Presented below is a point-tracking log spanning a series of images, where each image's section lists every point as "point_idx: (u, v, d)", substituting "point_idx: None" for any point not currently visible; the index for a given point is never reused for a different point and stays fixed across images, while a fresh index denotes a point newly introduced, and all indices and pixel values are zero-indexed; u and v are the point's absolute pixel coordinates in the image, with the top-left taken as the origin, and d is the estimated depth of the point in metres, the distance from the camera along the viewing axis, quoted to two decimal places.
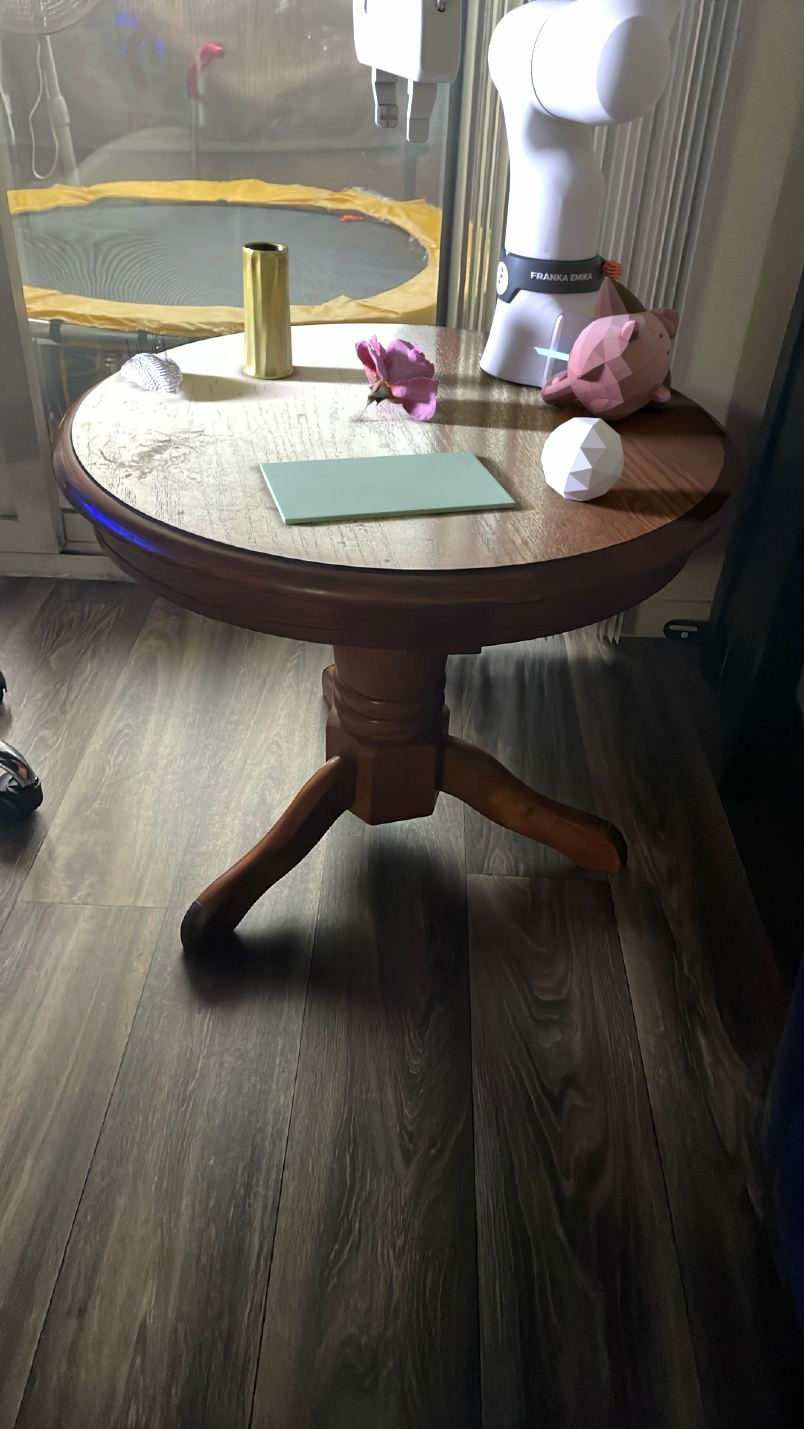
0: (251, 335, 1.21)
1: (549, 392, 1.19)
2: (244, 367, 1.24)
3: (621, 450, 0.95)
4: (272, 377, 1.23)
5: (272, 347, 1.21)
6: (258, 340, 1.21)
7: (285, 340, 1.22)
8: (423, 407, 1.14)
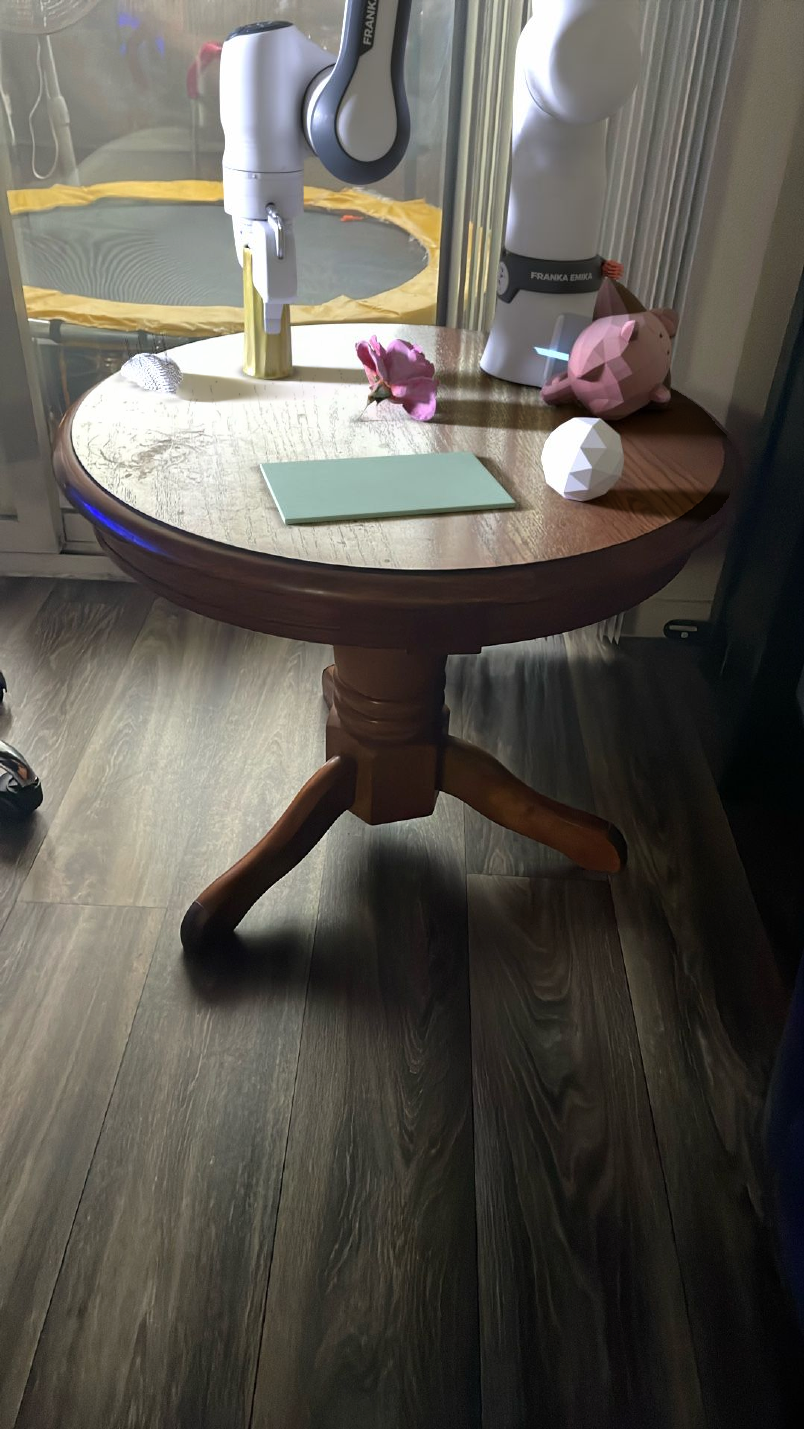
0: (251, 335, 1.21)
1: (549, 392, 1.19)
2: (244, 367, 1.24)
3: (621, 450, 0.95)
4: (272, 377, 1.23)
5: (272, 347, 1.21)
6: (257, 340, 1.21)
7: (285, 340, 1.22)
8: (423, 407, 1.14)
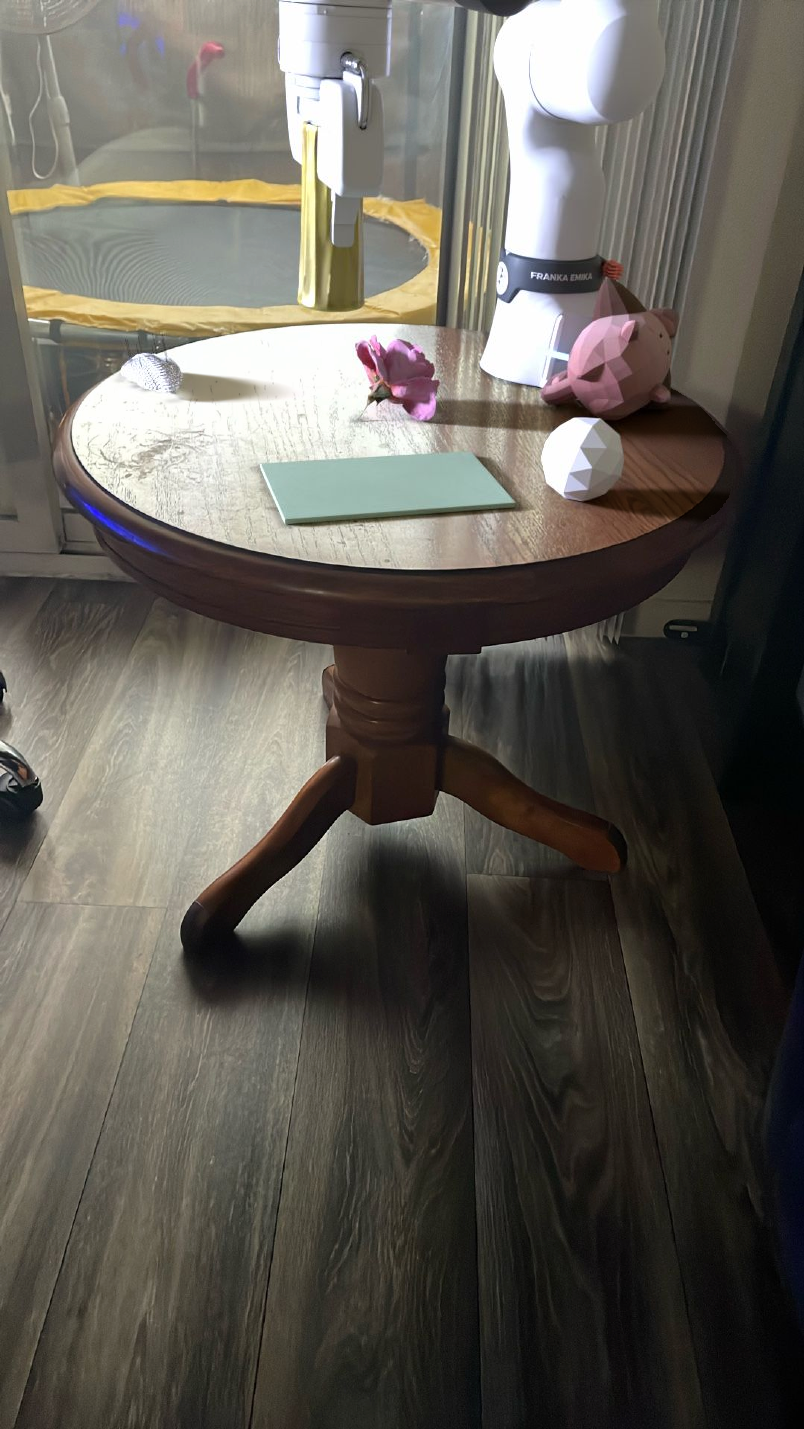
0: (311, 250, 0.88)
1: (549, 392, 1.19)
2: (299, 297, 0.92)
3: (621, 450, 0.95)
4: (338, 309, 0.91)
5: (339, 267, 0.89)
6: (320, 257, 0.88)
7: (356, 258, 0.89)
8: (423, 407, 1.14)
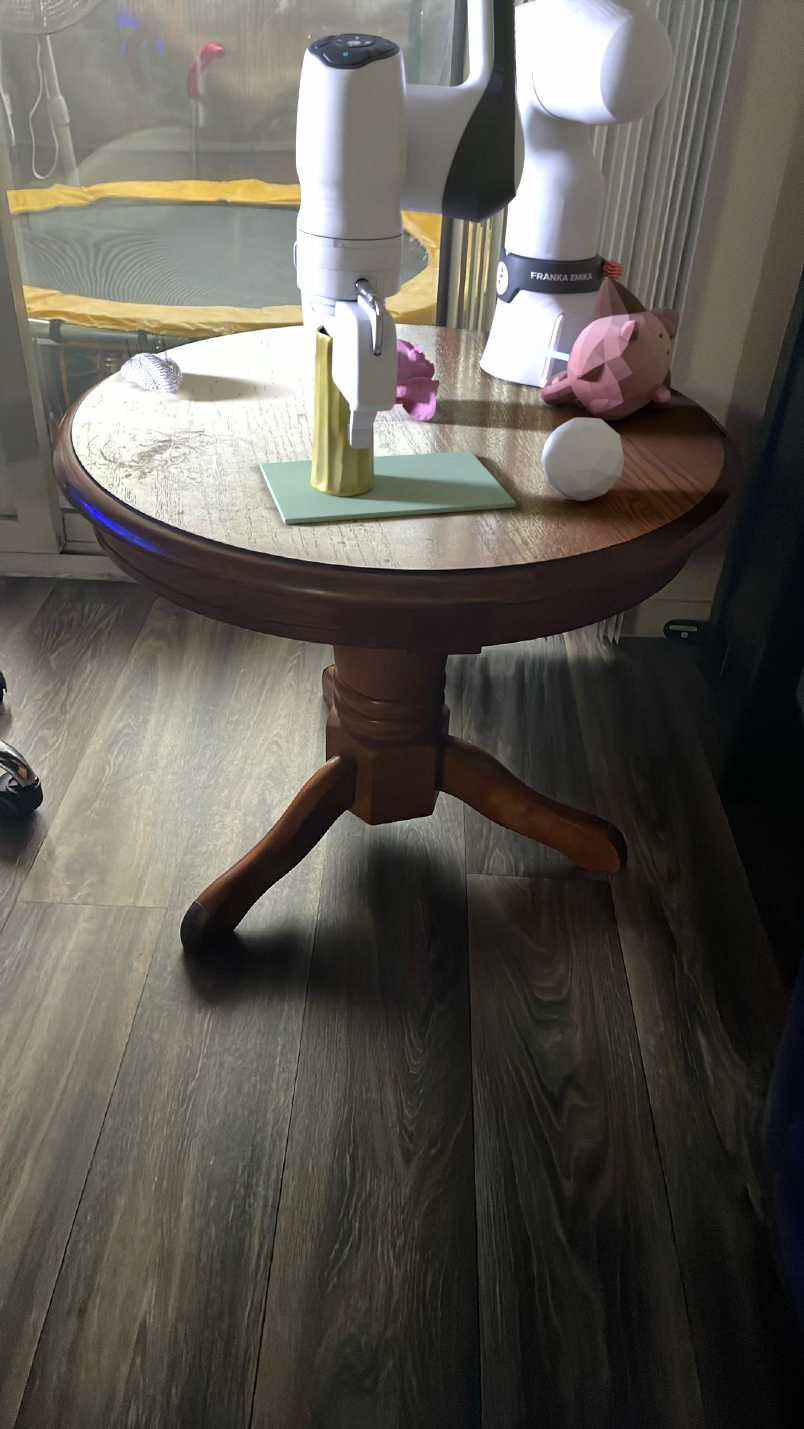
0: (323, 442, 0.93)
1: (549, 392, 1.19)
2: (312, 479, 0.97)
3: (621, 450, 0.95)
4: (349, 494, 0.95)
5: (350, 457, 0.94)
6: (332, 449, 0.93)
7: (367, 448, 0.94)
8: (423, 407, 1.14)
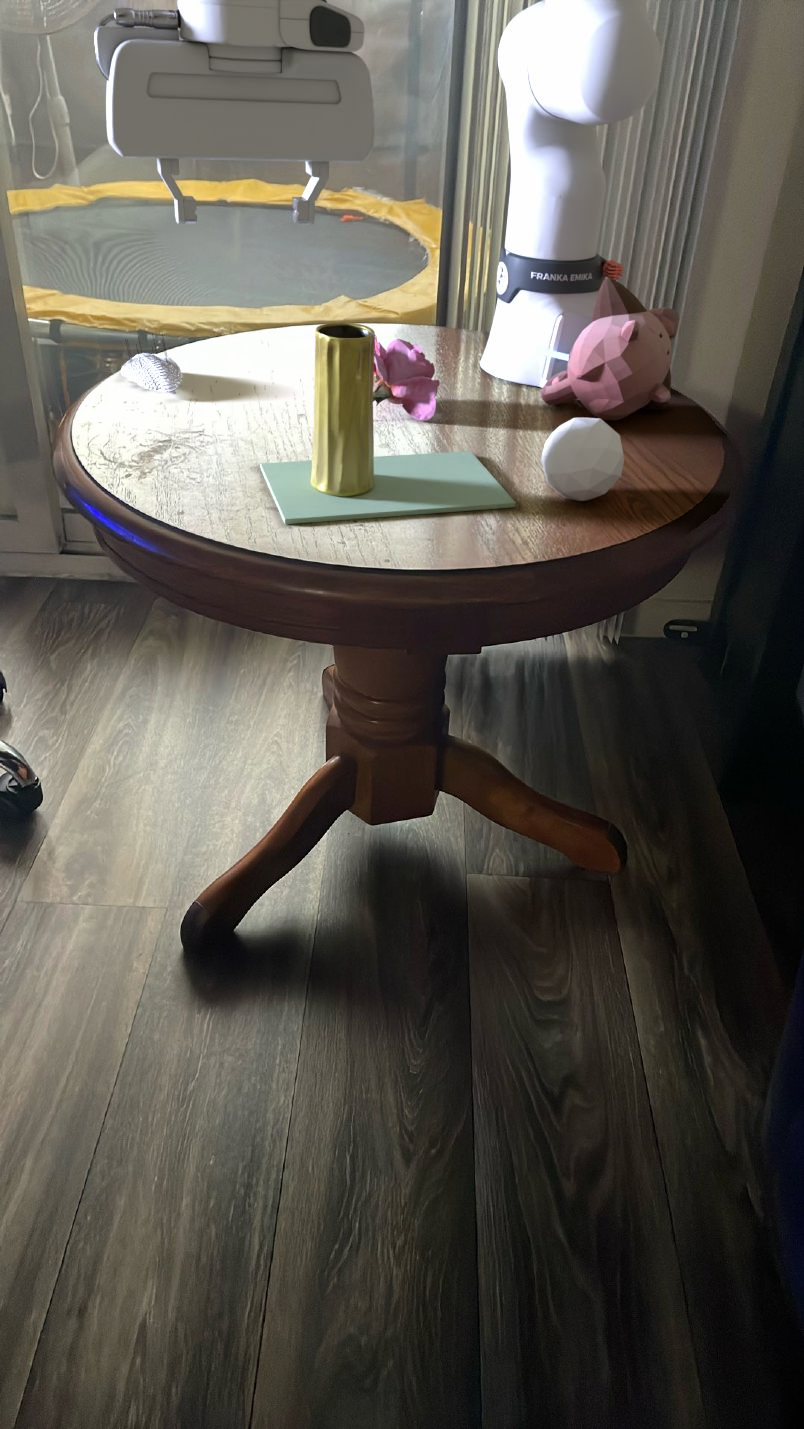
0: (323, 442, 0.93)
1: (549, 392, 1.19)
2: (312, 479, 0.97)
3: (621, 450, 0.95)
4: (349, 494, 0.95)
5: (350, 457, 0.94)
6: (332, 449, 0.93)
7: (367, 448, 0.94)
8: (423, 407, 1.14)
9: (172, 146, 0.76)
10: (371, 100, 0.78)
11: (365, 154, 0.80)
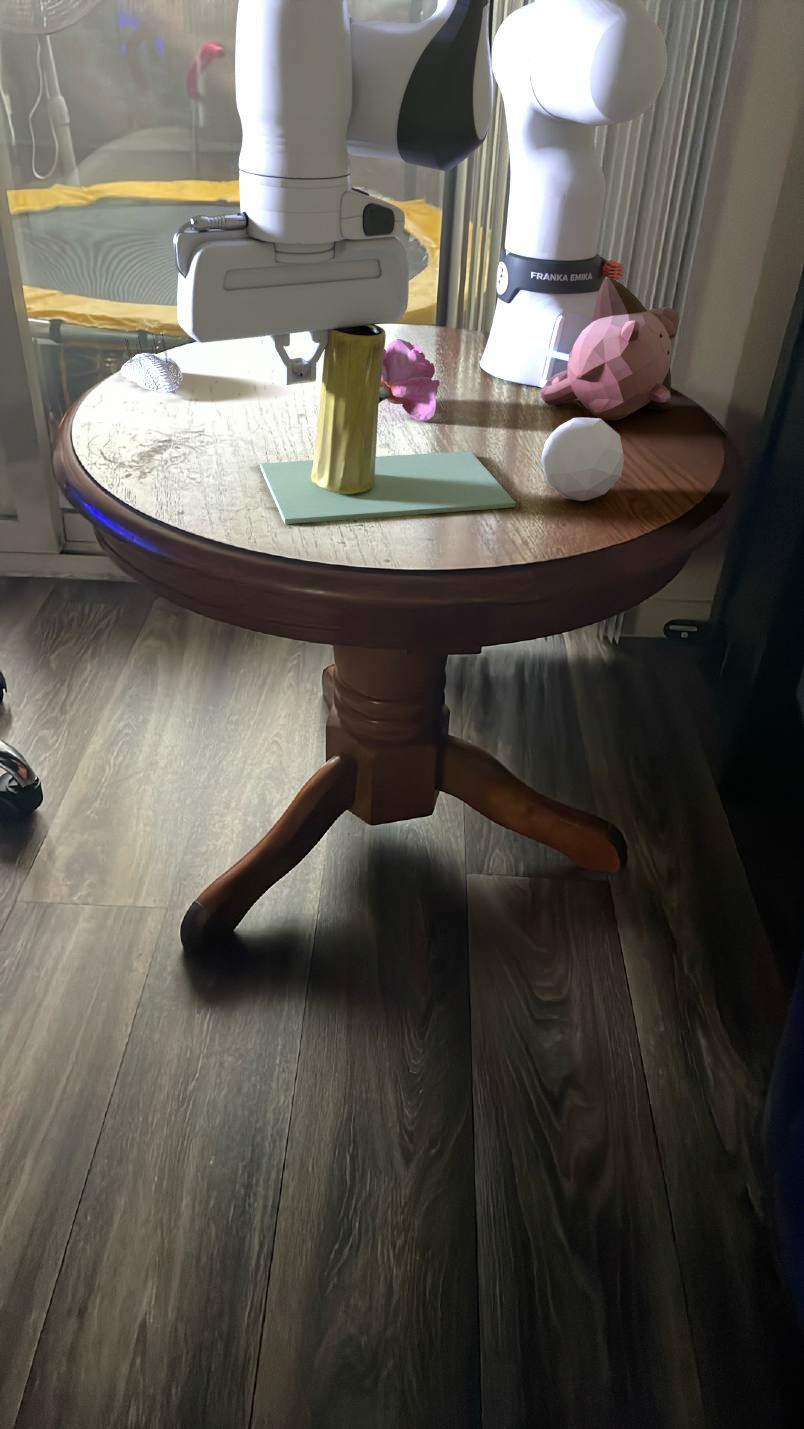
0: (327, 438, 0.93)
1: (549, 392, 1.19)
2: (312, 475, 0.96)
3: (621, 450, 0.95)
4: (349, 492, 0.95)
5: (353, 455, 0.93)
6: (335, 445, 0.93)
7: (370, 447, 0.94)
8: (423, 407, 1.14)
9: (243, 329, 0.84)
10: (407, 272, 0.88)
11: (400, 315, 0.91)
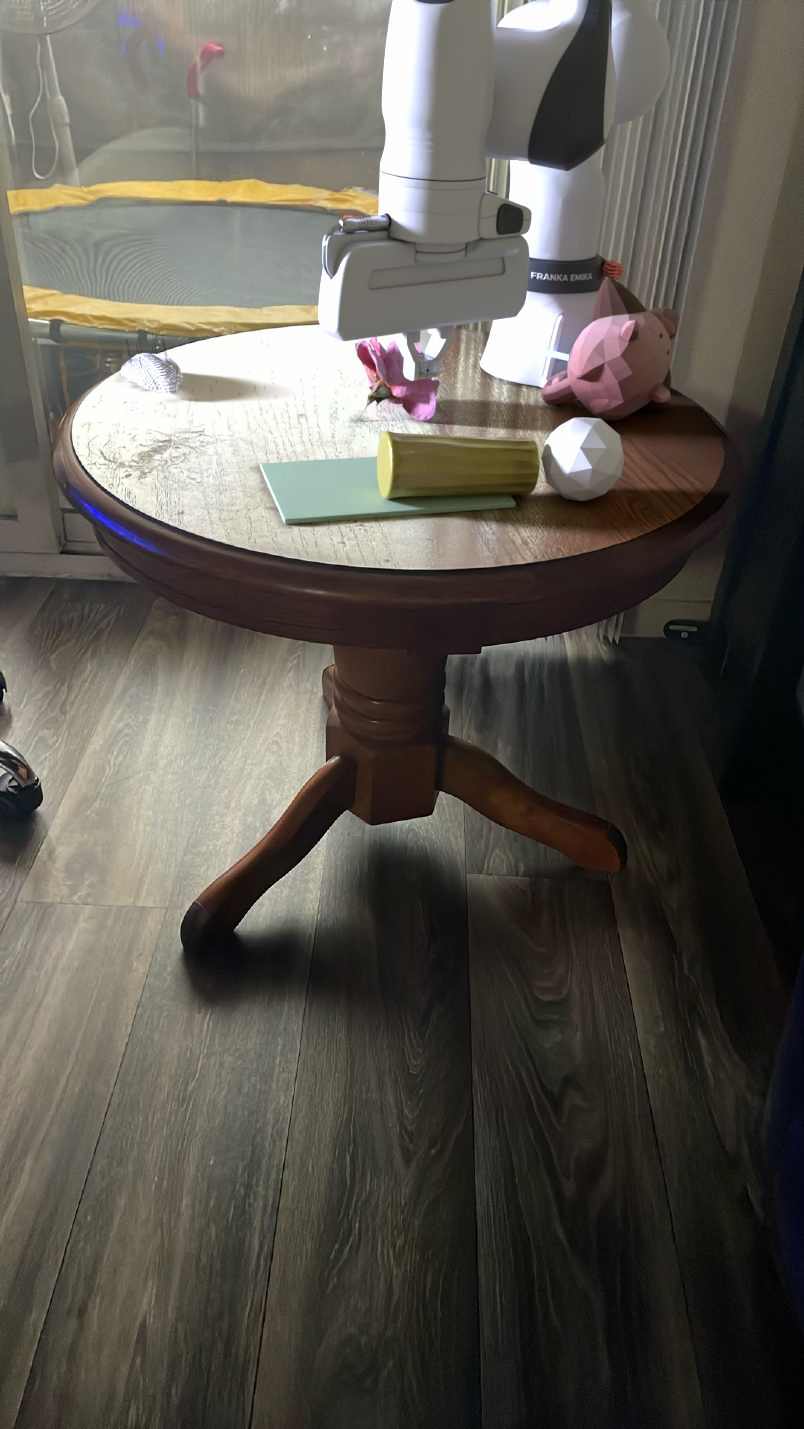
0: (441, 480, 0.93)
1: (549, 392, 1.19)
2: (397, 462, 0.92)
3: (621, 450, 0.95)
4: (387, 499, 0.95)
5: (422, 495, 0.96)
6: (434, 488, 0.94)
7: None
8: (423, 407, 1.14)
9: (382, 327, 0.87)
10: (528, 269, 0.92)
11: (518, 311, 0.94)
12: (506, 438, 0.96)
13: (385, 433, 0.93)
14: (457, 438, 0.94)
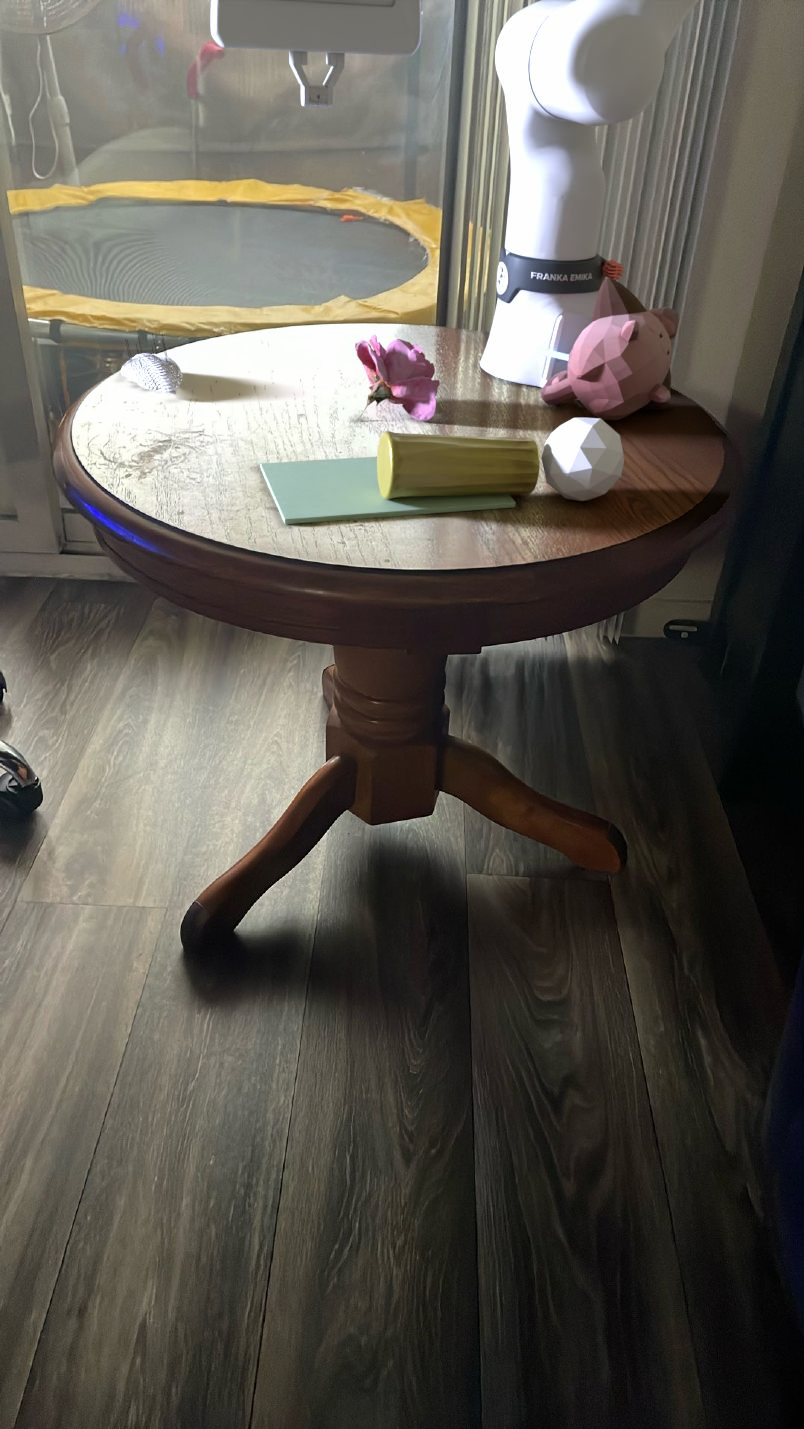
0: (441, 480, 0.93)
1: (549, 392, 1.19)
2: (397, 462, 0.92)
3: (621, 450, 0.95)
4: (387, 499, 0.95)
5: (422, 495, 0.96)
6: (434, 488, 0.94)
7: None
8: (423, 407, 1.14)
9: (262, 39, 0.97)
10: (419, 3, 0.98)
11: (413, 49, 1.01)
12: (506, 438, 0.96)
13: (385, 433, 0.93)
14: (457, 438, 0.94)
